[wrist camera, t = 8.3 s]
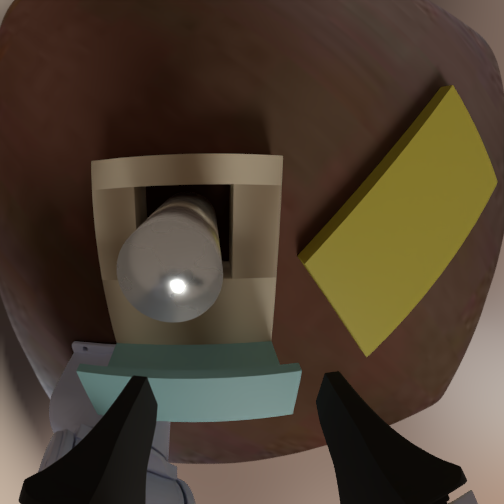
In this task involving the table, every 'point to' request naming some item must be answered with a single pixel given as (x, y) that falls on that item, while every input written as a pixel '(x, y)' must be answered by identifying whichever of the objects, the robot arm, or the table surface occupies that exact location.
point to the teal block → (199, 380)
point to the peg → (173, 260)
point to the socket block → (234, 271)
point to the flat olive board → (403, 222)
